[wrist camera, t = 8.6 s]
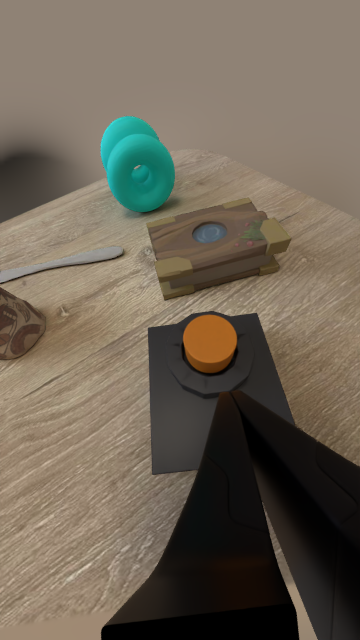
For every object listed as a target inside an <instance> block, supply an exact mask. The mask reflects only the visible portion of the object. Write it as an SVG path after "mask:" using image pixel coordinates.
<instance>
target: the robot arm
mask: <svg viewBox="0 0 360 640" xmlns="http://www.w3.org/2000/svg"><path fill="white" fill-rule="evenodd" d="M261 499H262V500H261ZM262 502H263V504H264V507H265V509H266V512H267V514H268V517H269V519H270V522H271V524H272V527H273V529H274V532H275V534H276V537H277V539H278V542H279V544H280V547H281V549H282V552H283V554H284V557H285V559H286V562H287V564H288V567H289V569H290V572H291V574H292V577H293V579H294V582H295V584H296V587H297V589H298V591H299V594H300V596H301V599H302V601H303V604H304V607H305V609H306V612H307V614H308V617H309V619H310V622H311V624H312V627H313V629H314V632H315V634H316V636H317V639H318V640H360V467H359V466H357V465H356V464H354V463H352V462H350V461H349V460H347V459H346V458H344V457H342V456H341V455H339V454H338V453H336V452H335V451H333V450H331V449H330V448H328V447H327V446H325V445H324V444H322V443H321V442H319V441H318V442H317V440H316V439H314V438H313V437H311V436H310V435H308V434H307V433H305V432H304V431H302V430H301V429H299V428H298V427H296V426H294V425H293V424H291V423H290V422H288V421H287V420H285V419H284V418H282V417H281V416H279V415H278V414H276V413H275V412H273V411H272V410H270V409H268V408H267V407H265V406H264V405H262V404H261V403H259V402H258V401H256V400H255V399H253V398H252V397H250V396H249V395H247V394H246V393H244V392H243V391H240V390H239V391H232V392H231V393H230V392H223V393H220V394H219V397H218V401H217V404H216V408H215V412H214V415H213V419H212V423H211V426H210V430H209V433H208V437H207V441H206V444H205V448H204V451H203V455H202V458H201V462H200V465H199V469H198V472H197V475H196V478H195V481H194V483H193V486H192V488H191V491H190V493H189V496H188V498H187V501H186V503H185V505H184V507H183V510H182V512H181V514H180V517H179V519H178V521H177V523H176V526H175V528H174V530H173V533H172V535H171V537H170V539H169V542H168V544H167V546H166V548H165V551H164V553H163V555H162V557H161V559H160V561H159V562H158V564H157V566H156V567H155V569H154V571H153V572H152V573H151V575H150V576H149V578H148V579H147V580H146V581H145V582H144V583H143V584H142V585H141V587H140V588H139V589H138V590H137V591H136V592H135V593H134V594H133V595H132V596H131V597H130V598H129V600H128V601H127V602H126V603H125V604H124V605H123V606H122V607H121V608H120V609H119V610H118V611H117V613H116V614H115V615H114V616H113V617H112V618H111V619H110V620H109V621H108V622H107V623H106V624H105V626H104V627H103V628H102V630H101V640H299V633H298V622H297V613H296V609H295V607H294V604H293V602H292V599H291V597H290V594H289V592H288V589H287V587H286V584H285V582H284V579H283V577H282V574H281V572H280V569H279V566H278V563H277V559H276V556H275V553H274V549H273V545H272V541H271V538H270V533H269V529H268V525H267V520H266V516H265V512H264V508H263V504H262Z"/></svg>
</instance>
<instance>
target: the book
mask: <svg viewBox="0 0 360 640" xmlns="http://www.w3.org/2000/svg"><path fill="white" fill-rule="evenodd" d="M146 224H147V228H148V232H149V236H150V240H151V243H152V247H153V251H154V253H155V256H156V259H157V261H155V262H154V264H155V269H156V272H157V276H158V279H159V283H160V286H161V290H162V293H163V297H164V300H166V299H169V298H172V297H176V296H183V295H186V294H190V293H194V291H195V290H199V289H203V288H206V287H210V286H214V285H218V284H221V283H225V282H229V281H232V280H236V279H240V278H244V277H247V276H251V275H255V274H259V276H261V275H266V274H269V273H273V272H276V271H278V268H279V266H280V265H279V264H278V262H277V261H276V260H275V258H274V257H273V255H274V254H278V253H282V252H286V250H287V248H288V246H289V243H290V241H291V239H292V238H291V237H290V236H289V235H288V233H287V232H286V231H285V230H284V229H283V227H282V226H281V225H280V224H279V222H278V221H277V220H276V219H275V217H274V218H271V219H268V218H267V215H266V213H265V212H264V211H257V209H256V208H255V206H254V205H253V203H252V201H251V200H250V199H249V198H244V199H240V200H236V201H232V202H228V203H224V204H222V205H218V206H214V207H210V208H206V209H201V210H197V211H193V212H189V213H185V214H181V215H178V216H173V217H168V218H164V219H160V220H157V221H154V222H149V223H146Z"/></svg>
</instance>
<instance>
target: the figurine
mask: <svg viewBox="0 0 360 640" xmlns="http://www.w3.org/2000/svg"><path fill="white" fill-rule="evenodd" d="M44 331H45V317H44V316H43V315H42V314H41V313H40V312H39V311H37V310H36V309H35V308H34V307H33V306H32V305H30V304H29V303H28V302H27V301H24V300H21V299H19V298H17V297H15V296H14V295H12V294H10V293H9V292H7V291H6V290H4V289H2V288H1V287H0V359H13V358H16V357H19V356H21V355H23V354H25V353H26V352H27V350H29V349H30V348H31V347H32V346H33V345H34V344H35V342H36V341H37V340H38V338H39V337H40V336H41V335H42V334H43V333H44Z"/></svg>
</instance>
